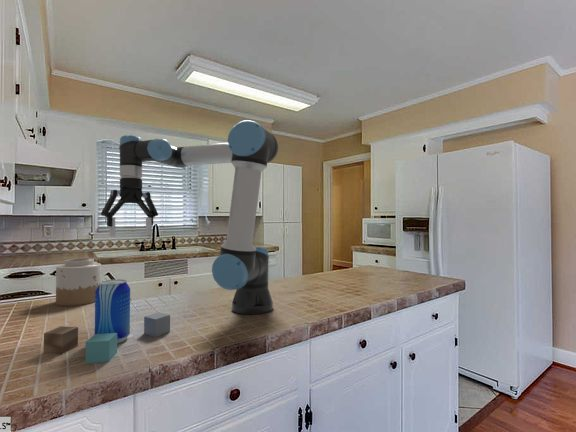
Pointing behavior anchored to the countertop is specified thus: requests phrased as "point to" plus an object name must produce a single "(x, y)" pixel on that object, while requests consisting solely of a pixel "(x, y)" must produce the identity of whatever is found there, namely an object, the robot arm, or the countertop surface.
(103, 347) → the teal cube
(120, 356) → the countertop surface
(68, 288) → the vase
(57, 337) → the walnut cube
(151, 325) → the grey cube
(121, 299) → the beer can
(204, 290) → the countertop surface
